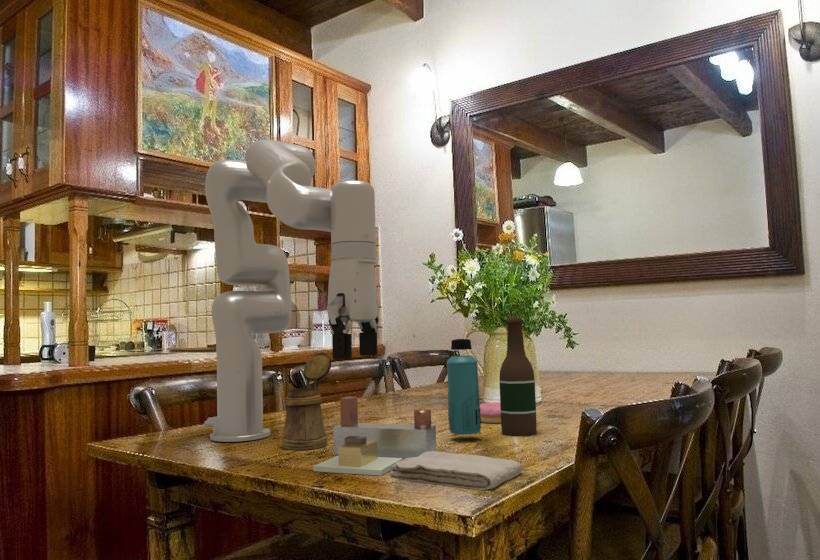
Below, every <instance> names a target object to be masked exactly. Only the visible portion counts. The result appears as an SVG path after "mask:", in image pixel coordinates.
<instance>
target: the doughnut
mask: <svg viewBox="0 0 820 560" xmlns="http://www.w3.org/2000/svg"><path fill="white" fill-rule="evenodd" d="M480 414H481V423H484V424H501V408H500V401H499V402H485V403H480Z"/></svg>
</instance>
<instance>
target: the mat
mask: <svg viewBox="0 0 820 560" xmlns="http://www.w3.org/2000/svg"><path fill="white" fill-rule="evenodd" d="M403 459H404V458H389V457H378V459H376V460H374V461H372V462H370V463H368V464H366V465H364V466H362V467H351V466H339V455H335V456H333V457H331V458H328V459H326V460H325V461H322V462H320V463H316V464H314V465H313V466H312V470H313V472H320V473H336V474H353V475H365V476H366V475H367V476H383V475H385V474H386V473H388V472H390V471H392V469H391V465H394V464H396V462H399V461H401V460H403Z"/></svg>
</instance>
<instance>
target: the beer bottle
mask: <svg viewBox="0 0 820 560" xmlns="http://www.w3.org/2000/svg"><path fill="white" fill-rule="evenodd" d="M505 321H506V322H505V323H506V324H507V338H506V339H507V341H506V342H507V343H506V344H507V345H506V356H505V358H504V360H503V361H502V363H501V366H500V369H499V403H500V408H501V423H500V426H501V433H502V435H504V436H511V437H528V436H535V435H536V434H537V432H538V431H537V430H538V429H537V423H538V422H537V406H536V405H537V401H536V380H535V372H534V368H533V366H532V363H531V361H530V360H529V358H528V357H527V355H526V351H525V342H524V334H523V333H524V332H523V331H524V330H523V323H524V321H523V318H522V317H521V316H518V317H507V318H506V320H505Z"/></svg>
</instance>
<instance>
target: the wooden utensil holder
mask: <svg viewBox="0 0 820 560" xmlns="http://www.w3.org/2000/svg"><path fill="white" fill-rule="evenodd" d="M332 364H333V363H332V359H331V357H330V356H329V355H328V354H327V353H326V352H324V351H321V352H319V353H316V354H315V355H313V356H312V357H310V358H308V360H307V361H306V363H305V365H304V367H303V376H304V378H305V379H306V381H307V382H306V386H305V387H304V388H303V387H301V388H300V387H299V388H298V387H296V388H288V390H287V395H286V397H285V405H286V408H285V409H286V410H285V419H284V421H285V422H284V430H283V437H282V440H281V441H282V442H281V448H282V449H284V450H289V451H309V450H316V449H321V448H325V447H326V446H327V445H328V437H327V434H326V432H325V425H324V418H323V411H322V405H321V404H322V397H321V396H322V395H321V394H320V389H319V384H320V382H321V380H324V379H325V378H326V377H327V376H328V374H329V373H330V371H331V367H332Z"/></svg>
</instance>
